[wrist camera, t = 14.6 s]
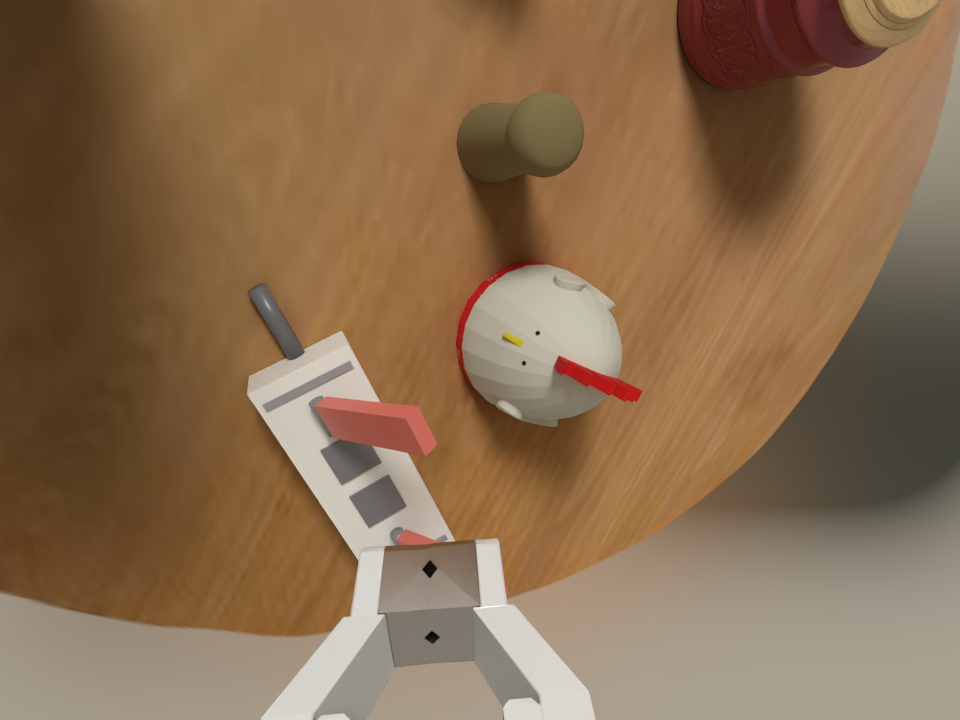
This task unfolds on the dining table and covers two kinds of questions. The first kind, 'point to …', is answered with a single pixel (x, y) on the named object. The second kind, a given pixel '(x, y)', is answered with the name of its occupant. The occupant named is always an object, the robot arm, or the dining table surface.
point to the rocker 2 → (412, 539)
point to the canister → (792, 36)
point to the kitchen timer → (541, 344)
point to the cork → (521, 138)
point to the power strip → (338, 440)
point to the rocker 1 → (374, 424)
